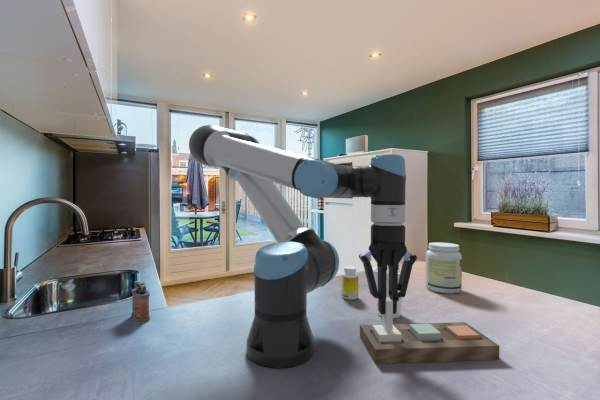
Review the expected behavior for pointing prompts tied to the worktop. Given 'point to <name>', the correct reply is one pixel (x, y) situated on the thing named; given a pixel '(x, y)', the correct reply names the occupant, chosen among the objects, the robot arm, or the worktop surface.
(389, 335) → the cream tile
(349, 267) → the supplement bottle
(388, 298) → the robot arm
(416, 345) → the walnut board
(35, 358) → the worktop surface
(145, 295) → the lighter
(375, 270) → the foam cup
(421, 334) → the sage tile
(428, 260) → the supplement tub
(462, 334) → the terracotta tile
